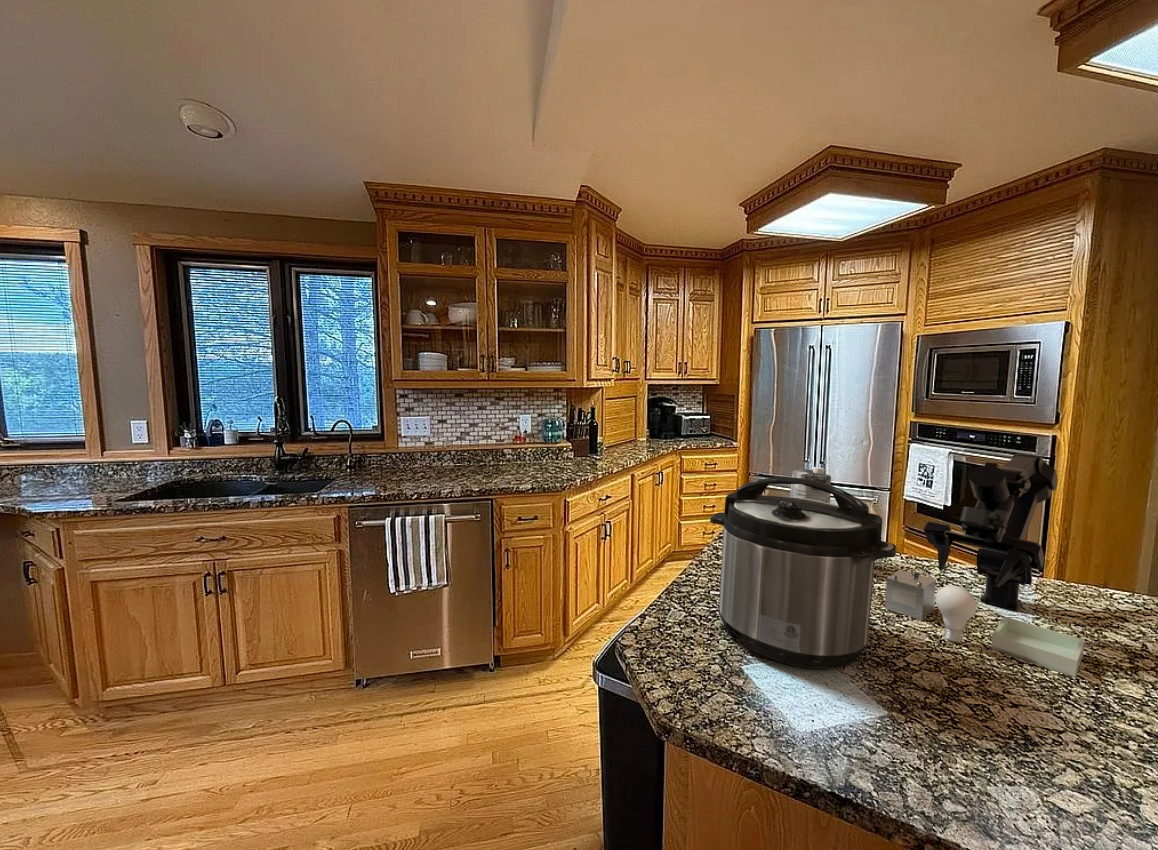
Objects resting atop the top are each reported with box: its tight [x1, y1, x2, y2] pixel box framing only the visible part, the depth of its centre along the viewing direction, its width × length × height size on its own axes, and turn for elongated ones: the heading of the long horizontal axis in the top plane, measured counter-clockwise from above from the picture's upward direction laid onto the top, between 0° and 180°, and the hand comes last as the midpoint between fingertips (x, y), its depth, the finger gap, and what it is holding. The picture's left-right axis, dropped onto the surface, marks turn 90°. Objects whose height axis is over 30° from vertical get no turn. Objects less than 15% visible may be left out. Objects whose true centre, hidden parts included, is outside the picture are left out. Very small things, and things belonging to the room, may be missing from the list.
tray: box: [990, 616, 1086, 678], centre depth 89 cm, size 11×11×3 cm
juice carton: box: [789, 466, 832, 503], centre depth 136 cm, size 9×10×27 cm
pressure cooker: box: [709, 476, 897, 669], centre depth 93 cm, size 30×28×32 cm
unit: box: [884, 569, 937, 621], centre depth 106 cm, size 8×7×8 cm
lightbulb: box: [934, 585, 978, 643], centre depth 93 cm, size 6×6×11 cm
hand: (967, 577), depth 95 cm, fingers open, 9 cm apart
